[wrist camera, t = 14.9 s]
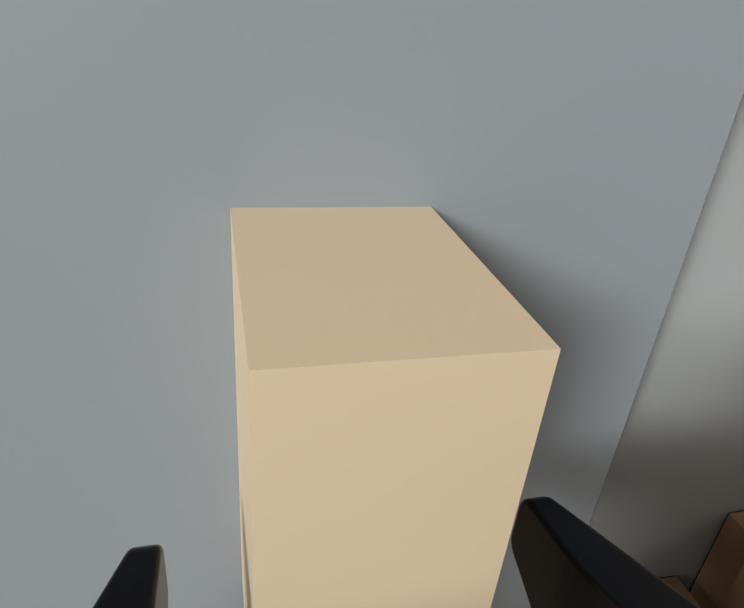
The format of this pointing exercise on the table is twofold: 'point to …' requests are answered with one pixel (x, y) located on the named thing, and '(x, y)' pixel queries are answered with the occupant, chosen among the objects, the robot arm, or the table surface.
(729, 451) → the table surface
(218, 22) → the lid
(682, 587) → the brown wooden box
